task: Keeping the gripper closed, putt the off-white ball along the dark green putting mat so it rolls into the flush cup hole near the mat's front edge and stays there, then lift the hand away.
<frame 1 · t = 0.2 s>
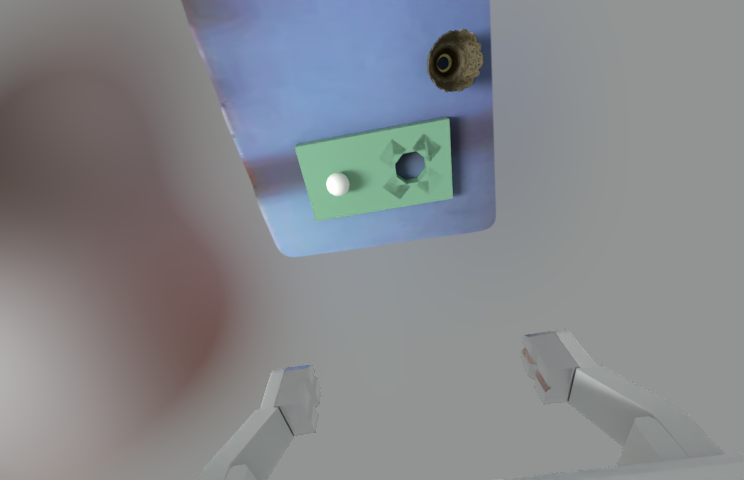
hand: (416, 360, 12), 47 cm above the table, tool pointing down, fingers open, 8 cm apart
putting mat: (377, 169, 56), on the table
ball: (337, 184, 53), point 4 cm above the table, touching putting mat
cup: (442, 63, 48), on the table
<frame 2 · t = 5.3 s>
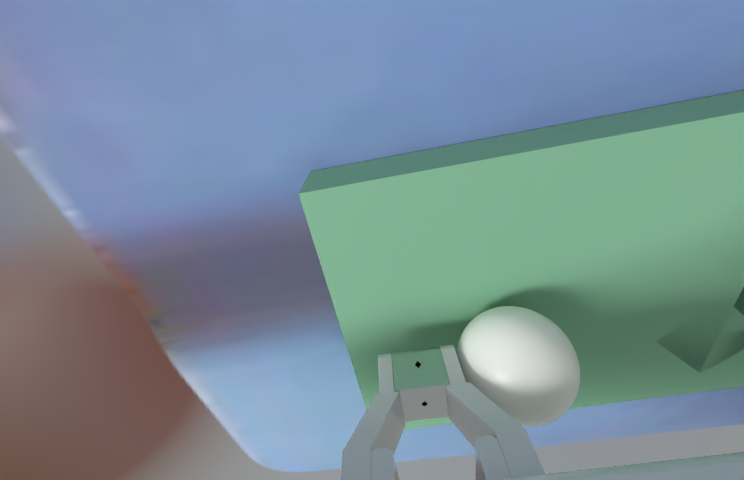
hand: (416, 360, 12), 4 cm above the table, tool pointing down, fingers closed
putting mat: (615, 263, 15), on the table
ball: (513, 362, 11), point 4 cm above the table, tilted 10°, touching gripper, putting mat
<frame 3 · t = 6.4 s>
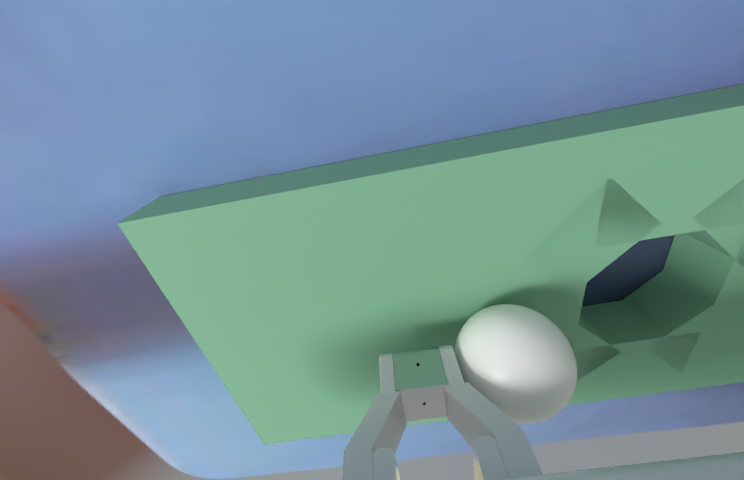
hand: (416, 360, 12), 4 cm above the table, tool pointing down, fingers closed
putting mat: (482, 280, 15), on the table
ball: (511, 359, 11), point 4 cm above the table, tilted 172°, touching gripper, putting mat
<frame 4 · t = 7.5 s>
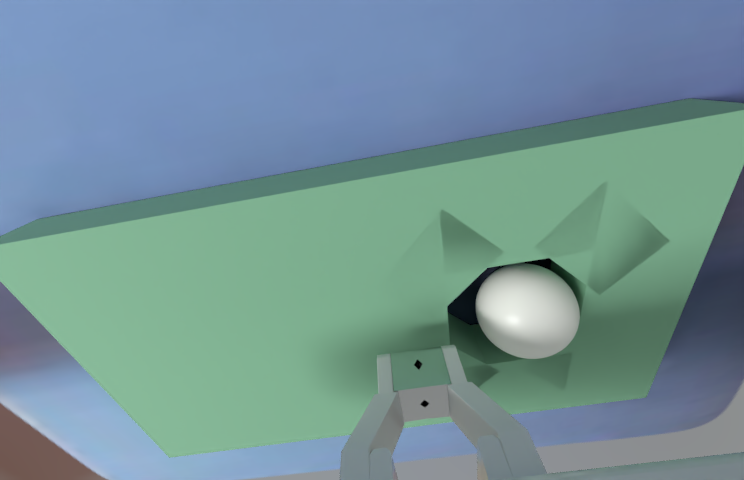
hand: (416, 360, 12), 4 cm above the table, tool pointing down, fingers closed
putting mat: (371, 299, 15), on the table
ball: (524, 309, 13), point 2 cm above the table, tilted 55°
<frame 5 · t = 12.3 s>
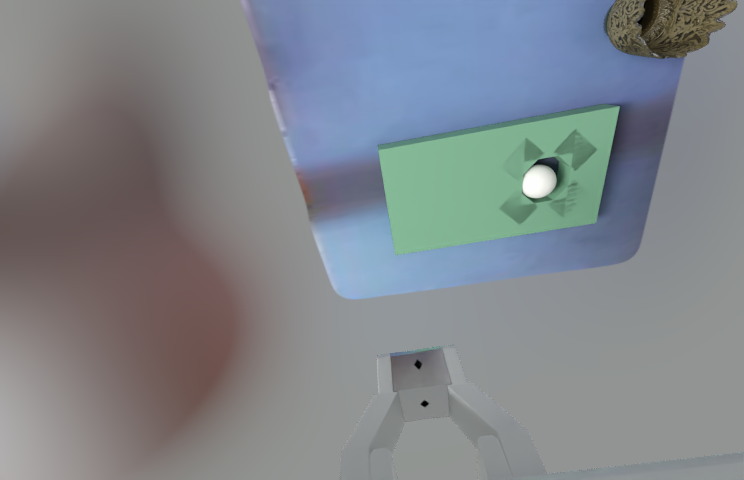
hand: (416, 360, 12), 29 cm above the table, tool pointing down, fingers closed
putting mat: (487, 182, 39), on the table
ball: (537, 181, 37), point 2 cm above the table, tilted 16°
cup: (617, 18, 31), on the table
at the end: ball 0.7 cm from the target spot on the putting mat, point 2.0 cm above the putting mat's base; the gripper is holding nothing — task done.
